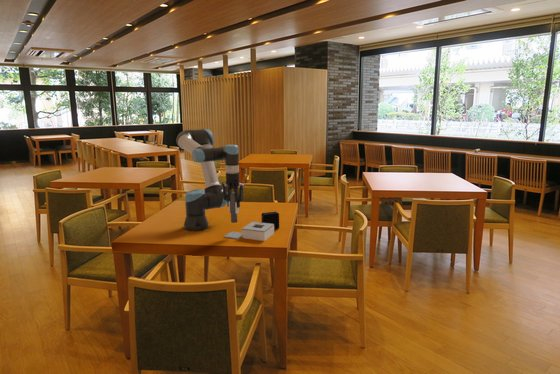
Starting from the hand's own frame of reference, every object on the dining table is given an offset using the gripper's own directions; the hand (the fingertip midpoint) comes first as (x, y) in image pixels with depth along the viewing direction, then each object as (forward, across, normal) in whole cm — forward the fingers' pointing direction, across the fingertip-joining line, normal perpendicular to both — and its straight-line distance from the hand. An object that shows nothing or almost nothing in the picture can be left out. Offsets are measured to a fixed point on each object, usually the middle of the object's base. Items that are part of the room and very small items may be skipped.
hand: (233, 212), depth 220 cm
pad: (+14, 0, 0) cm, 14 cm away
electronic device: (+14, +14, +19) cm, 28 cm away
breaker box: (+14, +13, +5) cm, 20 cm away
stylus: (+5, 0, 0) cm, 5 cm away
